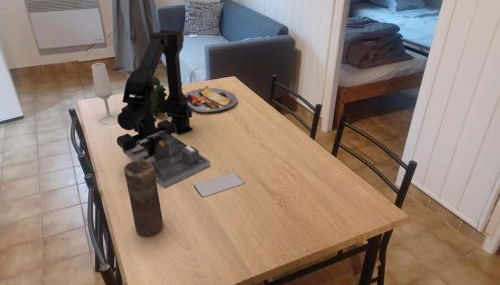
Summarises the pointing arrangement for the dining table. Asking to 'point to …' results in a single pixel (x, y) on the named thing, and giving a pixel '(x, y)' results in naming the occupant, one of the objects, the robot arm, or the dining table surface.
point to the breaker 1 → (162, 134)
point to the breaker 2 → (190, 155)
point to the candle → (143, 197)
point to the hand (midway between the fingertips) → (150, 156)
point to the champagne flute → (103, 88)
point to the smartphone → (218, 184)
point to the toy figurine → (158, 98)
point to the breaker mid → (161, 150)
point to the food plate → (210, 99)
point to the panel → (169, 162)
